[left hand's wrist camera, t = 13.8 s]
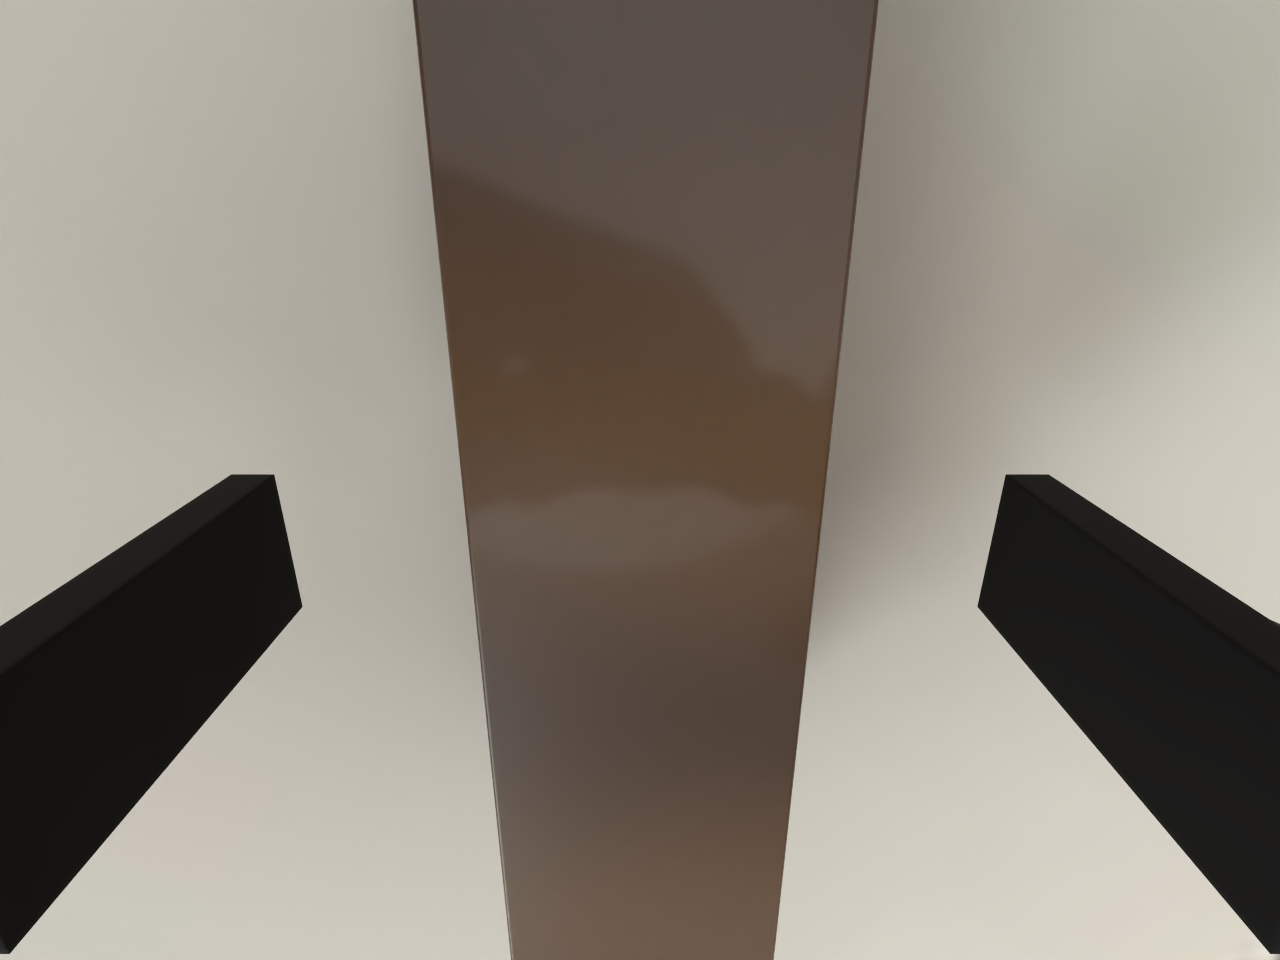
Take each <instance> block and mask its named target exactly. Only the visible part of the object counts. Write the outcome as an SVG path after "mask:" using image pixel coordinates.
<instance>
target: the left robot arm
mask: <svg viewBox="0 0 1280 960" xmlns="http://www.w3.org/2000/svg"><path fill="white" fill-rule="evenodd" d="M301 608H302V602H301V598H300V593H299V588H298V584H297V579H296V574H295V570H294V565H293V560H292V556H291V551H290V546H289V542H288V537H287V532H286V528H285V523H284V518H283V514H282V509H281V504H280V500H279V495H278V490H277V486H276V481H275V476H274V475H230V476H229V477H227V478H225V479H224V480H222V481H221V482H219V483H218V484H216V485H215V486H213V487H212V488H210V489H209V490H207V491H206V492H204V493H203V494H201V495H200V496H198V497H197V498H195V499H193V500H192V501H190V502H189V503H187V504H186V505H184V506H183V507H181V508H180V509H178V510H177V511H175V512H174V513H172V514H171V515H169V516H168V517H166V518H165V519H163V520H161V521H160V522H158V523H157V524H155V525H154V526H152V527H151V528H149V529H148V530H146V531H145V532H143V533H142V534H140V535H139V536H137V537H136V538H134V539H133V540H131V541H129V542H128V543H126V544H125V545H123V546H122V547H120V548H119V549H117V550H116V551H114V552H113V553H111V554H110V555H108V556H107V557H105V558H104V559H102V560H101V561H99V562H97V563H96V564H94V565H93V566H91V567H90V568H88V569H87V570H85V571H84V572H82V573H81V574H79V575H78V576H76V577H75V578H73V579H72V580H70V581H69V582H67V583H65V584H64V585H62V586H61V587H59V588H58V589H56V590H55V591H53V592H52V593H50V594H49V595H47V596H46V597H44V598H43V599H41V600H40V601H38V602H37V603H35V604H33V605H32V606H30V607H29V608H27V609H26V610H24V611H23V612H21V613H20V614H18V615H17V616H15V617H14V618H12V619H11V620H9V621H8V622H6V623H5V624H3V625H1V626H0V954H10V953H11V952H12V950H13V949H14V948H15V947H16V946H17V944H18V943H19V942H20V941H21V940H22V939H23V937H24V936H25V935H26V934H27V933H28V931H29V930H30V929H31V928H32V927H33V925H34V924H35V923H36V922H37V921H38V920H39V918H40V917H41V916H42V915H43V914H44V912H45V911H46V910H47V909H48V908H49V907H50V905H51V904H52V903H53V902H54V901H55V899H56V898H57V897H58V896H59V895H60V893H61V892H62V891H63V890H64V889H65V888H66V886H67V885H68V884H69V883H70V882H71V880H72V879H73V878H74V877H75V876H76V875H77V873H78V872H79V871H80V870H81V869H82V867H83V866H84V865H85V864H86V863H87V861H88V860H89V859H90V858H91V857H92V856H93V854H94V853H95V852H96V851H97V850H98V848H99V847H100V846H101V845H102V844H103V843H104V841H105V840H106V839H107V838H108V837H109V835H110V834H111V833H112V832H113V831H114V829H115V828H116V827H117V826H118V825H119V824H120V822H121V821H122V820H123V819H124V818H125V816H126V815H127V814H128V813H129V812H130V811H131V809H132V808H133V807H134V806H135V805H136V803H137V802H138V801H139V800H140V799H141V797H142V796H143V795H144V794H145V793H146V792H147V790H148V789H149V788H150V787H151V786H152V784H153V783H154V782H155V781H156V780H157V778H158V777H159V776H160V775H161V774H162V773H163V771H164V770H165V769H166V768H167V767H168V765H169V764H170V763H171V762H172V761H173V760H174V758H175V757H176V756H177V755H178V754H179V752H180V751H181V750H182V749H183V748H184V746H185V745H186V744H187V743H188V742H189V741H190V739H191V738H192V737H193V736H194V735H195V733H196V732H197V731H198V730H199V729H200V728H201V726H202V725H203V724H204V723H205V722H206V720H207V719H208V718H209V717H210V716H211V714H212V713H213V712H214V711H215V710H216V709H217V707H218V706H219V705H220V704H221V703H222V701H223V700H224V699H225V698H226V697H227V696H228V694H229V693H230V692H231V691H232V690H233V688H234V687H235V686H236V685H237V684H238V682H239V681H240V680H241V679H242V678H243V677H244V675H245V674H246V673H247V672H248V671H249V669H250V668H251V667H252V666H253V665H254V664H255V662H256V661H257V660H258V659H259V658H260V656H261V655H262V654H263V653H264V652H265V650H266V649H267V648H268V647H269V646H270V645H271V643H272V642H273V641H274V640H275V639H276V637H277V636H278V635H279V634H280V633H281V632H282V630H283V629H284V628H285V627H286V626H287V624H288V623H289V622H290V621H291V620H292V618H293V617H294V616H295V615H296V614H297V613H298V611H299V610H300V609H301ZM978 608H979V609H980V610H981V611H982V613H983V614H984V615H985V616H986V617H987V618H988V620H989V621H990V622H991V623H992V624H993V626H994V627H995V628H996V629H997V630H998V632H999V633H1000V634H1001V635H1002V636H1003V637H1004V639H1005V640H1006V641H1007V642H1008V643H1009V645H1010V646H1011V647H1012V648H1013V649H1014V650H1015V652H1016V653H1017V654H1018V655H1019V656H1020V658H1021V659H1022V660H1023V661H1024V662H1025V664H1026V665H1027V666H1028V667H1029V668H1030V669H1031V671H1032V672H1033V673H1034V674H1035V675H1036V677H1037V678H1038V679H1039V680H1040V681H1041V682H1042V684H1043V685H1044V686H1045V687H1046V688H1047V690H1048V691H1049V692H1050V693H1051V694H1052V696H1053V697H1054V698H1055V699H1056V700H1057V701H1058V703H1059V704H1060V705H1061V706H1062V707H1063V709H1064V710H1065V711H1066V712H1067V713H1068V714H1069V716H1070V717H1071V718H1072V719H1073V720H1074V722H1075V723H1076V724H1077V725H1078V726H1079V728H1080V729H1081V730H1082V731H1083V732H1084V733H1085V735H1086V736H1087V737H1088V738H1089V739H1090V741H1091V742H1092V743H1093V744H1094V745H1095V746H1096V748H1097V749H1098V750H1099V751H1100V752H1101V754H1102V755H1103V756H1104V757H1105V758H1106V760H1107V761H1108V762H1109V763H1110V764H1111V765H1112V767H1113V768H1114V769H1115V770H1116V771H1117V773H1118V774H1119V775H1120V776H1121V777H1122V778H1123V780H1124V781H1125V782H1126V783H1127V784H1128V786H1129V787H1130V788H1131V789H1132V790H1133V792H1134V793H1135V794H1136V795H1137V796H1138V797H1139V799H1140V800H1141V801H1142V802H1143V803H1144V805H1145V806H1146V807H1147V808H1148V809H1149V811H1150V812H1151V813H1152V814H1153V815H1154V816H1155V818H1156V819H1157V820H1158V821H1159V822H1160V824H1161V825H1162V826H1163V827H1164V828H1165V829H1166V831H1167V832H1168V833H1169V834H1170V835H1171V837H1172V838H1173V839H1174V840H1175V841H1176V843H1177V844H1178V845H1179V846H1180V847H1181V848H1182V850H1183V851H1184V852H1185V853H1186V854H1187V856H1188V857H1189V858H1190V859H1191V860H1192V861H1193V863H1194V864H1195V865H1196V866H1197V867H1198V869H1199V870H1200V871H1201V872H1202V873H1203V875H1204V876H1205V877H1206V878H1207V879H1208V880H1209V882H1210V883H1211V884H1212V885H1213V886H1214V888H1215V889H1216V890H1217V891H1218V892H1219V893H1220V895H1221V896H1222V897H1223V898H1224V899H1225V901H1226V902H1227V903H1228V904H1229V905H1230V907H1231V908H1232V909H1233V910H1234V911H1235V912H1236V914H1237V915H1238V916H1239V917H1240V918H1241V920H1242V921H1243V922H1244V923H1245V924H1246V925H1247V927H1248V928H1249V929H1250V930H1251V931H1252V933H1253V934H1254V935H1255V936H1256V937H1257V939H1258V940H1259V941H1260V942H1261V943H1262V944H1263V946H1264V947H1265V948H1266V949H1267V950H1268V952H1269V953H1270V954H1280V624H1279V623H1276V622H1274V621H1272V620H1270V619H1268V618H1266V617H1265V616H1263V615H1262V614H1260V613H1259V612H1257V611H1256V610H1254V609H1253V608H1251V607H1250V606H1248V605H1247V604H1245V603H1243V602H1242V601H1240V600H1239V599H1237V598H1236V597H1234V596H1233V595H1231V594H1230V593H1228V592H1227V591H1225V590H1224V589H1222V588H1221V587H1219V586H1218V585H1216V584H1215V583H1213V582H1211V581H1210V580H1208V579H1207V578H1205V577H1204V576H1202V575H1201V574H1199V573H1198V572H1196V571H1195V570H1193V569H1192V568H1190V567H1189V566H1187V565H1186V564H1184V563H1183V562H1181V561H1179V560H1178V559H1176V558H1175V557H1173V556H1172V555H1170V554H1169V553H1167V552H1166V551H1164V550H1163V549H1161V548H1160V547H1158V546H1157V545H1155V544H1154V543H1152V542H1151V541H1149V540H1147V539H1146V538H1144V537H1143V536H1141V535H1140V534H1138V533H1137V532H1135V531H1134V530H1132V529H1131V528H1129V527H1128V526H1126V525H1125V524H1123V523H1122V522H1120V521H1119V520H1117V519H1115V518H1114V517H1112V516H1111V515H1109V514H1108V513H1106V512H1105V511H1103V510H1102V509H1100V508H1099V507H1097V506H1096V505H1094V504H1093V503H1091V502H1090V501H1088V500H1087V499H1085V498H1083V497H1082V496H1080V495H1079V494H1077V493H1076V492H1074V491H1073V490H1071V489H1070V488H1068V487H1067V486H1065V485H1064V484H1062V483H1061V482H1059V481H1058V480H1056V479H1055V478H1053V477H1051V476H1050V475H1006V476H1005V481H1004V486H1003V490H1002V495H1001V500H1000V504H999V509H998V514H997V518H996V523H995V528H994V532H993V537H992V542H991V546H990V551H989V556H988V560H987V565H986V570H985V574H984V579H983V584H982V588H981V593H980V598H979V602H978Z"/></svg>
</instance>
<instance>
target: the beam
mask: <svg viewBox="0 0 1280 960" xmlns="http://www.w3.org/2000/svg"><path fill="white" fill-rule="evenodd" d="M878 2H879V0H413V9H414V19H415V28H416V38H417V48H418V58H419V67H420V77H421V87H422V97H423V106H424V116H425V126H426V136H427V145H428V155H429V165H430V174H431V184H432V194H433V204H434V213H435V223H436V233H437V243H438V252H439V262H440V272H441V282H442V291H443V301H444V311H445V320H446V330H447V340H448V350H449V359H450V369H451V379H452V389H453V398H454V408H455V418H456V428H457V437H458V447H459V457H460V466H461V476H462V486H463V496H464V505H465V515H466V525H467V535H468V544H469V554H470V564H471V574H472V583H473V593H474V603H475V612H476V622H477V632H478V642H479V651H480V661H481V671H482V681H483V690H484V700H485V710H486V720H487V729H488V739H489V749H490V758H491V768H492V778H493V788H494V797H495V807H496V817H497V827H498V836H499V846H500V856H501V866H502V875H503V885H504V895H505V905H506V914H507V924H508V934H509V943H510V953H511V960H774V951H775V942H776V933H777V924H778V915H779V906H780V896H781V887H782V878H783V869H784V860H785V851H786V842H787V833H788V823H789V814H790V805H791V796H792V787H793V778H794V769H795V760H796V750H797V741H798V732H799V723H800V714H801V705H802V696H803V687H804V677H805V668H806V659H807V650H808V641H809V632H810V623H811V614H812V604H813V595H814V586H815V577H816V568H817V559H818V550H819V541H820V531H821V522H822V513H823V504H824V495H825V486H826V477H827V468H828V458H829V449H830V440H831V431H832V422H833V413H834V404H835V395H836V385H837V376H838V367H839V358H840V349H841V340H842V331H843V322H844V312H845V303H846V294H847V285H848V276H849V267H850V258H851V249H852V239H853V230H854V221H855V212H856V203H857V194H858V185H859V176H860V166H861V157H862V148H863V139H864V130H865V121H866V112H867V103H868V93H869V84H870V75H871V66H872V57H873V48H874V39H875V30H876V20H877V11H878Z"/></svg>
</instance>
